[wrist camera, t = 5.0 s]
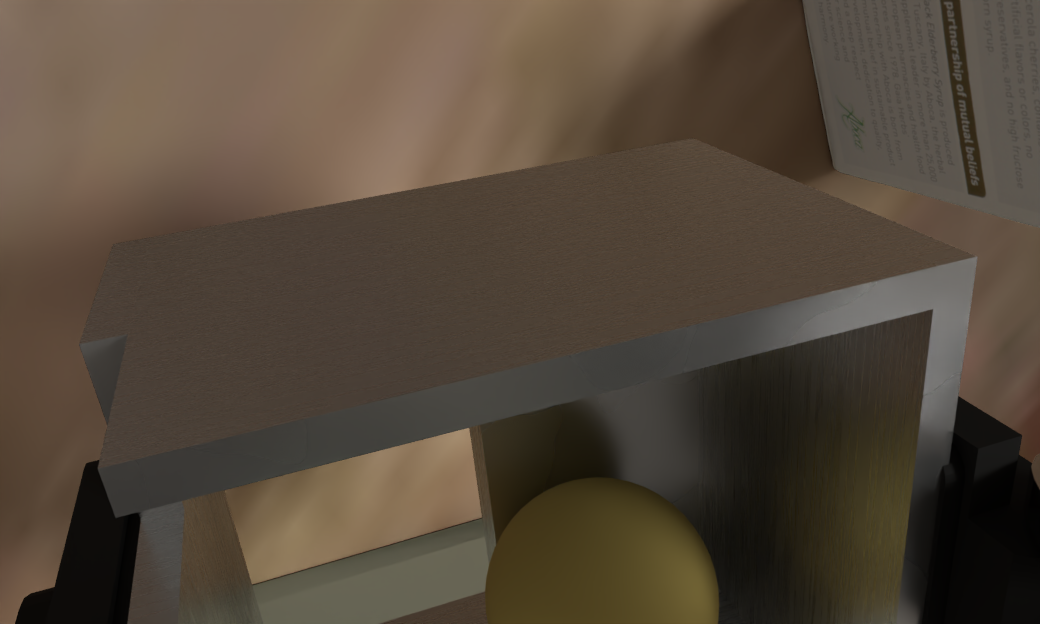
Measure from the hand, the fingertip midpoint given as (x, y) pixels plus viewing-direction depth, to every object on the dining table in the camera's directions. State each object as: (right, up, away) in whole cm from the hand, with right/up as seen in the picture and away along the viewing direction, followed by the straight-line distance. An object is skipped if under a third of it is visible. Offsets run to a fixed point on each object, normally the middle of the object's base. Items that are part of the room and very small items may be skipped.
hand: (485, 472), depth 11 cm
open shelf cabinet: (0, 0, +1) cm, 1 cm away
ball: (+2, 0, 0) cm, 2 cm away
